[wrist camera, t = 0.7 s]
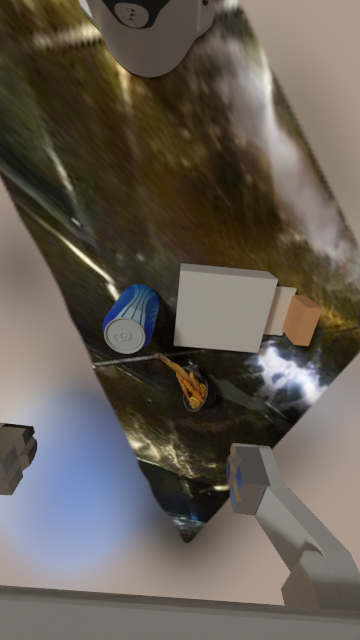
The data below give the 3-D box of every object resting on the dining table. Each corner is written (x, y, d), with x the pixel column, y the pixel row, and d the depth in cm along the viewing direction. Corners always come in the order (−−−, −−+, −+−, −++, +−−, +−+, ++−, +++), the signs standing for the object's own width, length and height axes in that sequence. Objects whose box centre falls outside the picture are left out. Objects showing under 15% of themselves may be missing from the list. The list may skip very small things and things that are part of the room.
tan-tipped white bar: (199, 278, 49) (201, 289, 43) (307, 289, 50) (325, 301, 44) (193, 326, 54) (194, 342, 48) (292, 335, 55) (306, 352, 48)
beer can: (129, 275, 51) (107, 304, 36) (166, 291, 52) (158, 325, 38) (116, 309, 54) (92, 347, 40) (151, 323, 56) (140, 365, 41)
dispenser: (181, 263, 49) (180, 270, 44) (272, 272, 50) (283, 280, 44) (174, 331, 56) (173, 345, 51) (255, 339, 57) (262, 353, 51)
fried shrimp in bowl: (200, 418, 62) (139, 406, 53) (198, 377, 68) (143, 360, 59) (227, 411, 56) (163, 395, 47) (222, 366, 62) (165, 345, 53)
